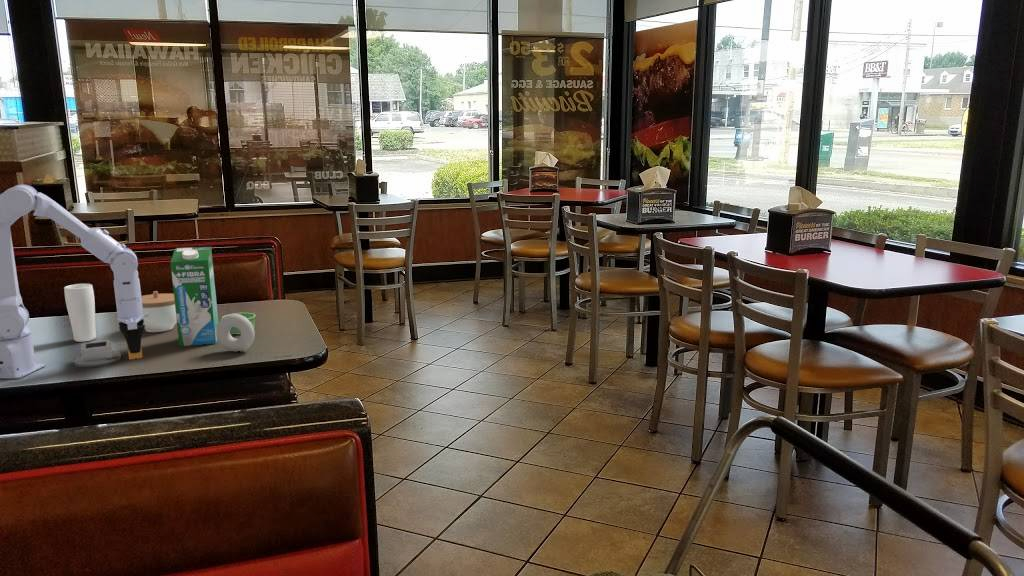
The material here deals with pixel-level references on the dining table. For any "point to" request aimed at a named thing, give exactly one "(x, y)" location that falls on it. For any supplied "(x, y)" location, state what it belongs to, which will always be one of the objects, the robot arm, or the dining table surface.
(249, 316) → the ramekin
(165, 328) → the lidded bowl
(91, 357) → the grey square frame
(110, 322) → the dining table surface
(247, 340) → the donut
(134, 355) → the orange block
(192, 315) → the milk carton
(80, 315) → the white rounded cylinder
